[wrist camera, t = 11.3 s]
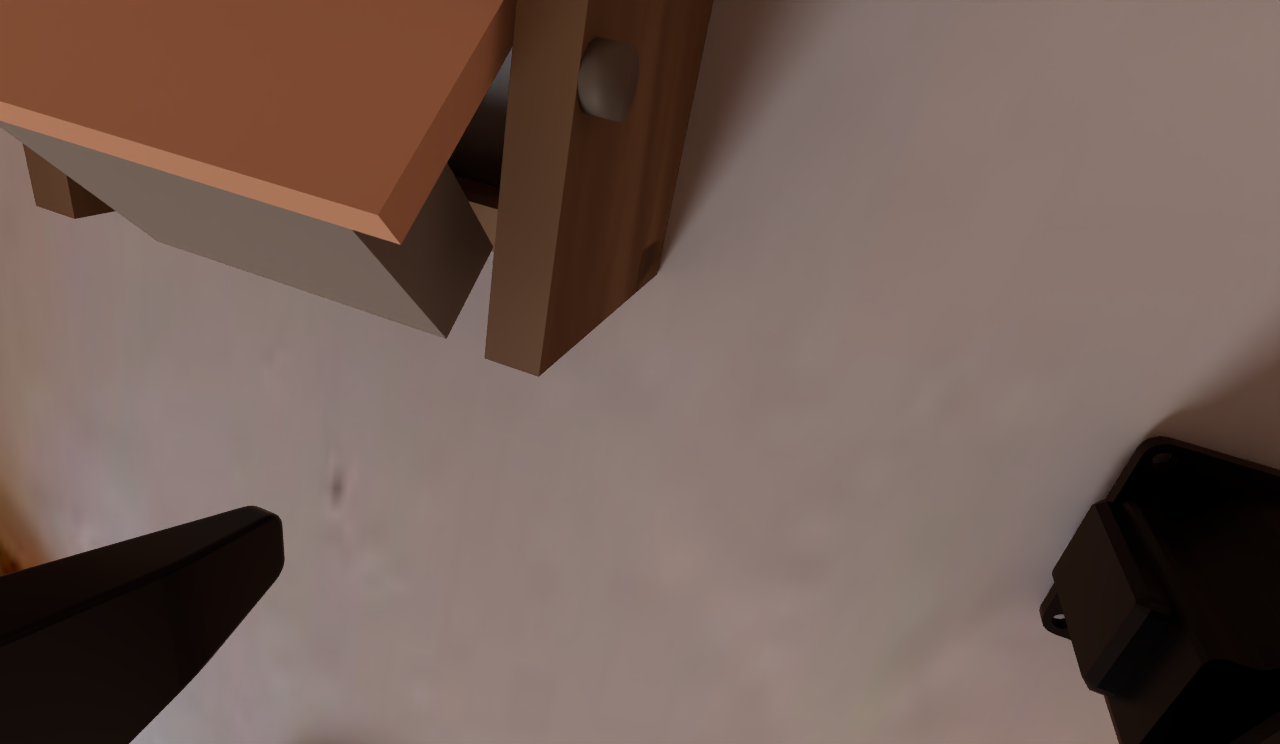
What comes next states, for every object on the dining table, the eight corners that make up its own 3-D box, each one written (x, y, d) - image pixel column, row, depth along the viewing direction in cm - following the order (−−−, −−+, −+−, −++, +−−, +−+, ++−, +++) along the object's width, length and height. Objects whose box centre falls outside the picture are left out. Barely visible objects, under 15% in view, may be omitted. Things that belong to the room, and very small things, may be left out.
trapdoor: (666, -14, 18) (649, -251, 13) (486, 354, 15) (377, 215, 10) (345, -78, 20) (231, -302, 16) (124, 232, 17) (-109, 68, 12)
